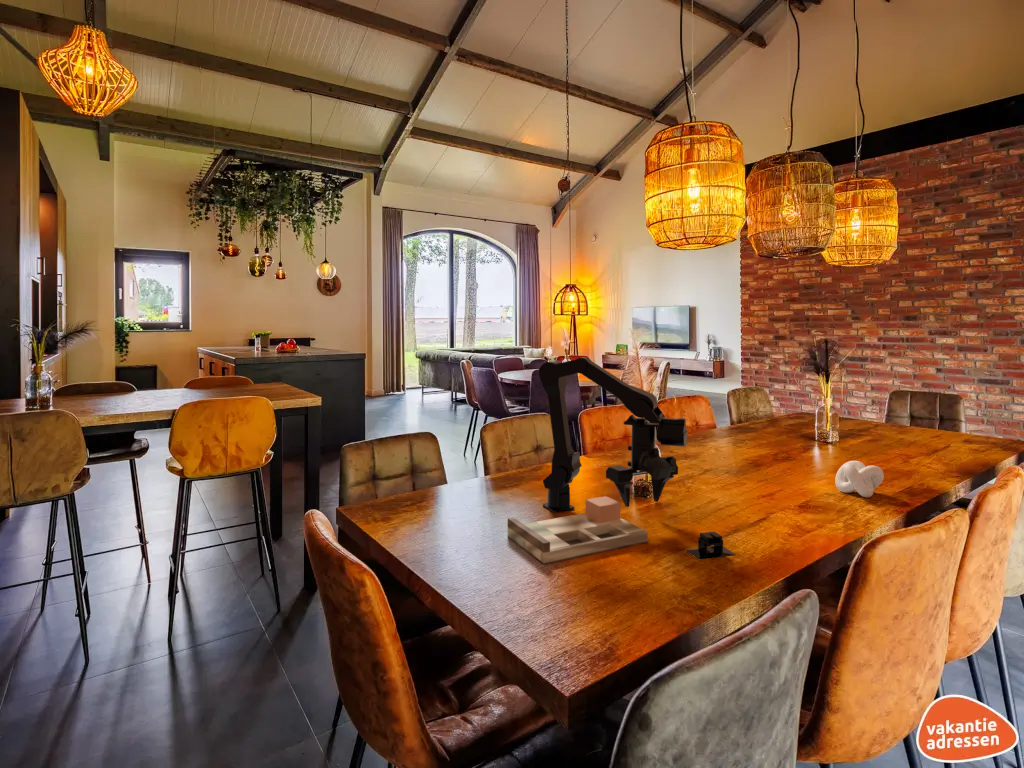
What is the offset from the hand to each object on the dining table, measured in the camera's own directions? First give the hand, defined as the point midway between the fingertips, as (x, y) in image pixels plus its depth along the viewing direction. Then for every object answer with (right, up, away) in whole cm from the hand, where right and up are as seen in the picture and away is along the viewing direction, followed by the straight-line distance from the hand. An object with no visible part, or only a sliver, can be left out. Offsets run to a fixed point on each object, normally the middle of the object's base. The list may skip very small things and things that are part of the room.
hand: (641, 504), depth 141 cm
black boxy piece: (+10, -7, -20) cm, 24 cm away
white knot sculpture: (+68, -2, +23) cm, 72 cm away
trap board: (-18, -5, -13) cm, 23 cm away
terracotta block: (-11, -2, -5) cm, 12 cm away
